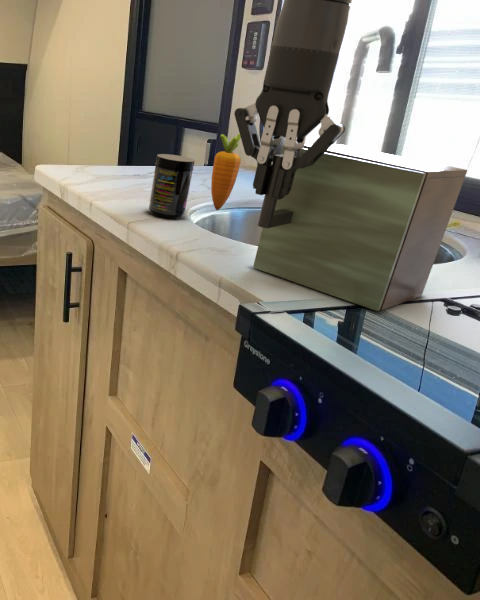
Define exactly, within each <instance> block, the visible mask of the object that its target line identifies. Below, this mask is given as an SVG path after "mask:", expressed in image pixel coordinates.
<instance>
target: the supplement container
mask: <svg viewBox="0 0 480 600" xmlns="http://www.w3.org/2000/svg"><path fill="white" fill-rule="evenodd" d="M195 161H196V160H195V159H193V158H191V157H187V156H182V155H177V154H169V153H158V154H157V155H156V160H155V167H154V173H153V179H152V184H151V191H150V197H149V203H148V213H149V214H151V215H152V216H154V217H157V218H161V219H164V220H165V219H167V220H179V219H182V218H183V217H184V216H185V214H186V208H187V204H188V203H187V202H188V197H189V193H190V187H191V181H192V177H193V172H194V167H195Z"/></svg>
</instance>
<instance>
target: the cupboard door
mask: <svg viewBox="0 0 480 600" xmlns="http://www.w3.org/2000/svg"><path fill="white" fill-rule="evenodd" d="M307 150H308V149H305V148H303V149H302V151H301V156H302V155H303V154H304V153H305V152H306V151H307ZM284 151H285V149H284V144H283V145H282V147H281V150H280V154H275V155H274V159H273V161H272V167H271V171H270V176H269V180H268V184H267V188H266V192H265V194H264V195H263V196H264V197H263V201H262V205H261V209H260V213H259V218H258V221H257V226H258V227H259V228H262V229H261V232H260V237H259V241H258V245H257V249H256V253H255V258H254V261H253V265H252V268H254V269H255V270H259V271H261V272H264V273H267V274H270V275H273V276H276V277H279V278H281V279H284V280H287V281H290V282H293V283H295V284H298V285H301V286H304V287H307V288H310V289H313V290H315V291H319V292H321V293H324V294H327V295H330V296H333V297H336V298H338V299H340V300H343V301H346V302H350V303H352V304H355V305H359V306H361V307H364V308H367V309H370V310H373V311H375V312H379V311H381V310H380V309H381V306H382V303H383V300H384V297H385V294H386V291H387V288H388V285H389V282H390V279H391V276H392V273H393V270H394V267H395V264H396V261H397V259H398V256H399V253H400V250H401V247H402V244H403V241H404V238H405V235H406V232H407V229H408V226H409V223H410V220H411V217H412V214H413V211H414V208H415V205H416V203H417V200H418V197H419V194H420V191H421V188H422V185H423V182H424V179H425V176H426V173H423V172H419V171H414V170H409V169H404V168H399V167H394V166H389V165H384V164H379V163H374V162H369V161H364V160H359V159H354V158H349V157H344V156H339V155H334V154H329V153H324V154H323V155H322V156H321V157H320V158H319V159H318V160H317V161H316V162H315V163H314V164H313V165H311V166H307V167H301V168H298V169H297V170H296V172H295V176H294V180H293V183H292V187H291V191H290V193H289V194H288V195H285V196H284V198H283V199H280V200H278V199H274V198H273V193H274V189H275V185H276V181H277V177H278V173H279V169H281V168H283V167H282V162H283V156H284ZM301 156H300V157H301Z"/></svg>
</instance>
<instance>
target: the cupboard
mask: <svg viewBox="0 0 480 600" xmlns="http://www.w3.org/2000/svg"><path fill="white" fill-rule="evenodd" d="M313 144H314V143H304V147H303V148H305V149H309V148H310V147H311V146H312V145H313ZM325 153H329V154H334V155H339V156H344V157H349V158H354V159H359V160H364V161H369V162H374V163H379V164H384V165H389V166H394V167H399V168H404V169H409V170H414V171H419V172H423V173H426V176H425V179H424V182H423V185H422V188H421V191H420V194H419V197H418V200H417V203H416V205H415V208H414V211H413V214H412V217H411V220H410V223H409V226H408V229H407V232H406V235H405V238H404V241H403V244H402V247H401V250H400V253H399V256H398V259H397V261H396V264H395V267H394V270H393V273H392V276H391V279H390V282H389V285H388V288H387V291H386V294H385V297H384V300H383V303H382V306H381V309H380V310H379V311H384V310H387V309H389V308H393V307H395V306H398V305H401V304H404V303H406V302H409V301H412V300H415V299H419V298H421V297H422V296H423V293H424V290H425V288H426V285H427V283H428V279H429V277H430V275H431V271H432V269H433V266H434V263H435V260H436V258H437V255H438V253H439V250H440V247H441V244H442V241H443V239H444V236H445V233H446V230H447V228H448V224H449V222H450V219H451V217H452V214H453V211H454V208H455V207H456V203H457V200H458V199H459V198H458V197H459V195H460V192H461V189H462V187H463V185H464V181H465V179H466V175H467V173H468V169H465V168H460V167H454V166H451V165H444V164H440V163H437V162H436V163H435V162H430V161H426V160H420V159H417V158H416V159H415V158H410V157H405V156H400V155H396V154H390V153H386V152H380V151H375V150H370V149H366V148H360V147H356V146H350V145H346V144H341V143H340V144H338V143H337V144H336V143H333V144H332V145H331V147H330V148H329V149H328V150H327V151H326V152H325Z"/></svg>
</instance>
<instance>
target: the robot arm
mask: <svg viewBox="0 0 480 600" xmlns="http://www.w3.org/2000/svg"><path fill="white" fill-rule="evenodd" d="M352 1H353V0H284V1H283V4H282V7H281V10H280V12H279V15H278V18H277V22H276V24H275V25H276V26H275V30H274V32H273V34H272V40H271V42H272V43H271V47H270V51H269V56H268V61H267V65H266V70H265V75H264V79H263V83H262V90H261V91H260V93H259V95H258V96H257V97H256V100H255V102H254V103H252V104H250V105H247V106H245V107H237V108H236V109H235V110H234V114H233V115H234V118H235V122H236V126H237V129H238V134H240V136H241V138H240V140H241V143H242V147H243V151H244V154H245V155H246V156H248V157H251V158H253V159H254V160H255V161H256V164H257V165H256V169H255V173H254V178H253V182H252V188H253V190H254V189H255V195H258V196H265V192H266V188H267V184H268V180H269V176H270V171H271V167H272V163H273V159H274V155H276V152H277V150H278V146H279V145H280V143H281V141H282V139H283V138H284V144H283V145H284V149H285V151H284V156H283V162H282V167H283V168H281V169H279V173H278V177H277V181H276V185H275V189H274V193H273V198H274V199H278V200H280V199H283V198H284V196H285V195H288V194H289V193H290V191H291V187H292V183H293V180H294V176H295V172H296V170H297V169H298V168H301V167H307V166H311V165H313V164H314V163H315V162H316V161H317V160H318V159H319V158H320V157H321V156H322V155H323V154H324V153H325V152H326V151H327V150H328V149H329V148H330V147H331V145H332V144H335V143H336V142H337V141H338V140H339V139H340V137H341V136H342V135H343V134H344V133H345V132H346V126H345V124H343V123H338V122H337V121H336V120H335V119H334V118H332V117H331V116H330V115H329V113H330V112H329V111H330V108H329V107H330V106H329V103H328V102H329V100H328V99H329V96H330V92H331V90H332V85H333V81H334V77H335V74H336V70H337V67H338V63H339V59H340V57H341V56H340V55H341V52H342V48H343V44H344V41H345V38H346V33H347V29H348V22H349V15H350V10H351V5H352ZM258 116H259V119H260V122H261V125H262V127H263V131H262V134H261V137H259V134H258V133H259V132H258V130H257V126H256V122H257V120H258ZM319 125H320V128H319V129H318V136H319V137H318V138H317V139H316V140H315V141H314V142H313V143H312V144H313V145H312V146H311V147H310V148H309V149H308V150H307V151H306V152H305V153H304V154H303V155H302V156H301V151H302V149H303V147H304V144H306V143H305V142H306V138H307V136H308V135H309V134H310V133H311V132H313V130H315V128H317V127H318V126H319ZM300 156H301V157H300Z"/></svg>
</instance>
